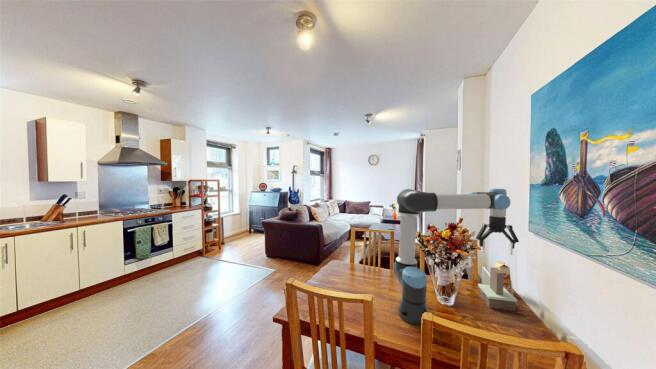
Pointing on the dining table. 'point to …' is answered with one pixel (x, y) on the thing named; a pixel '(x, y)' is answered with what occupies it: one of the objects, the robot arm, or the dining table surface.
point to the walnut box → (497, 302)
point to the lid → (496, 287)
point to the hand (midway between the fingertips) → (496, 253)
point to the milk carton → (505, 276)
